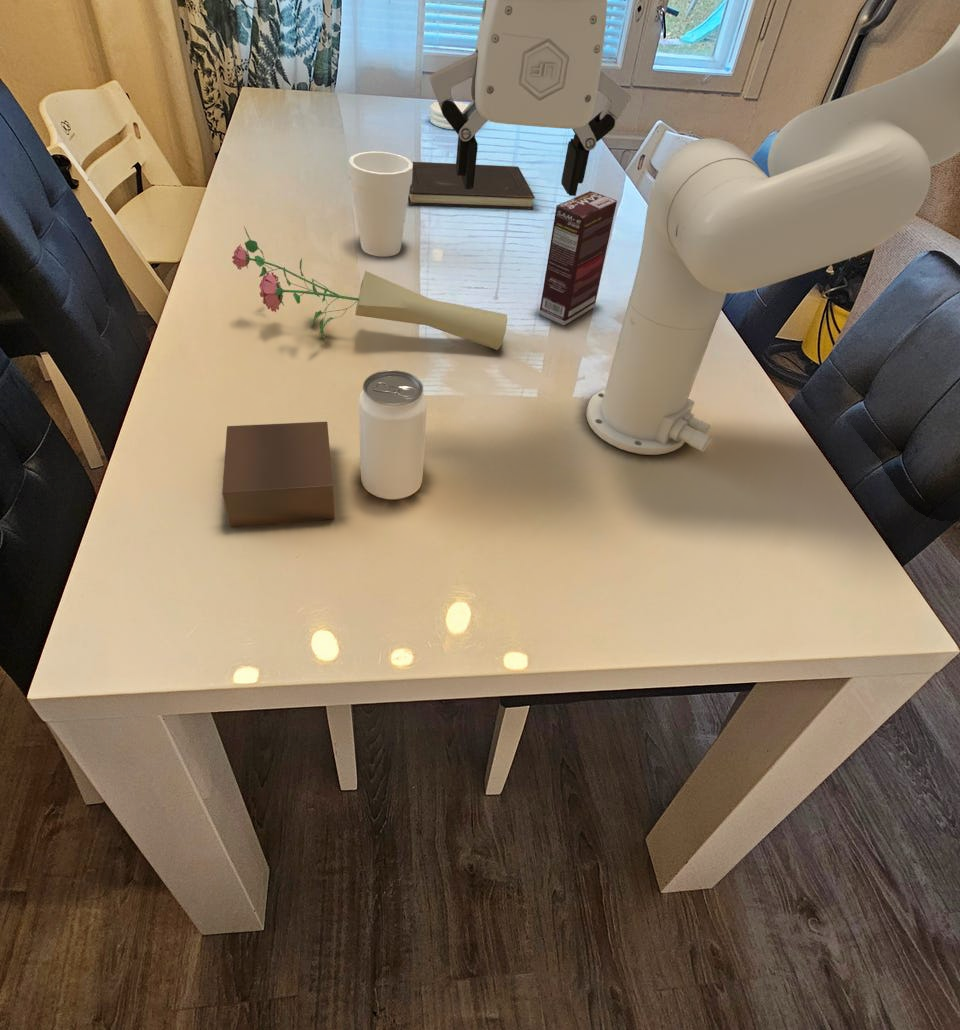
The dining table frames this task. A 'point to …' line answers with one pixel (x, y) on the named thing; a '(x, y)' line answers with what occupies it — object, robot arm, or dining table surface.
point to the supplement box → (576, 256)
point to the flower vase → (387, 304)
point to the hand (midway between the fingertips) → (518, 187)
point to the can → (392, 434)
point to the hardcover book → (489, 190)
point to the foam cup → (380, 199)
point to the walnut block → (277, 473)
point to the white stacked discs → (438, 117)
